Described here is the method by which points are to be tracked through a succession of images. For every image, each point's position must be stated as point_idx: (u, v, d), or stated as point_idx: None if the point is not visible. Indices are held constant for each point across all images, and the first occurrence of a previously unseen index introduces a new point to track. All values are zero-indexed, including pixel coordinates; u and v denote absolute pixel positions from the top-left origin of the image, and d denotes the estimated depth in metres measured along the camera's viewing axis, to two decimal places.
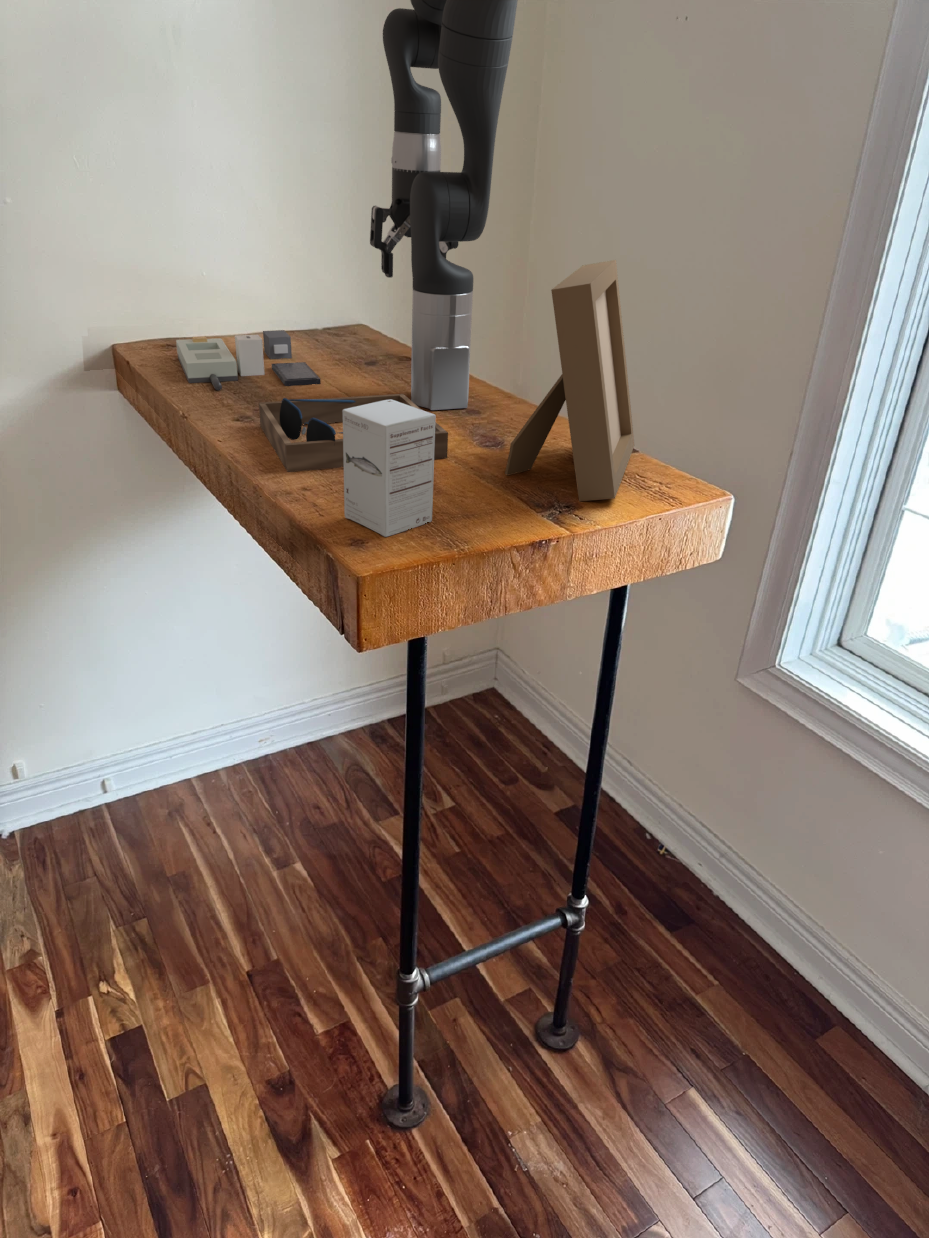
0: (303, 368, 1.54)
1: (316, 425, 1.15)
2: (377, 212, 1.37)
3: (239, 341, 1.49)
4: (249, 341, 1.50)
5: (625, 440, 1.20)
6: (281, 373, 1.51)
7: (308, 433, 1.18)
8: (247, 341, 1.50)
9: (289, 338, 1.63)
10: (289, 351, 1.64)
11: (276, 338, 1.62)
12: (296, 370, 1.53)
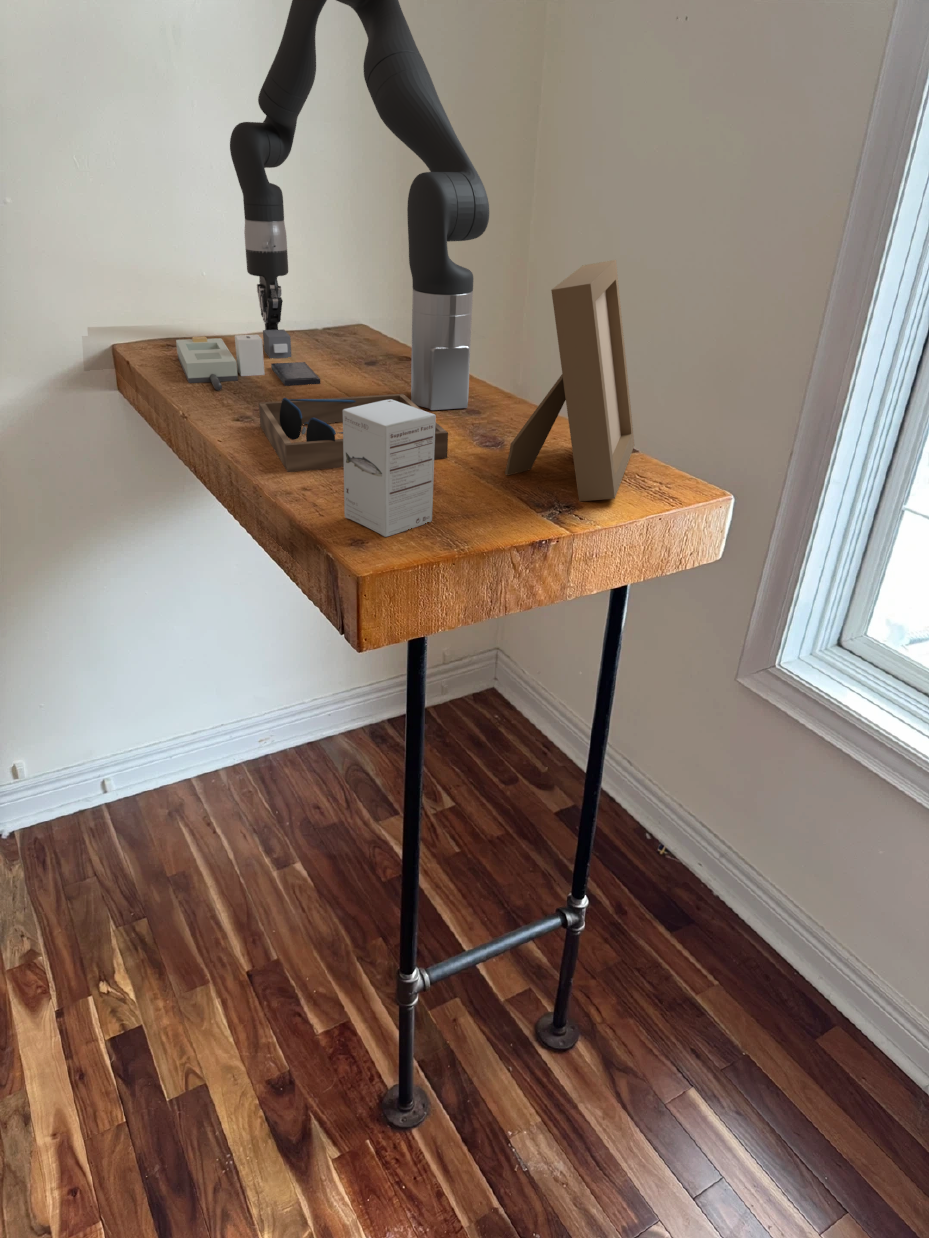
0: (303, 368, 1.55)
1: (316, 425, 1.15)
2: (281, 302, 1.62)
3: (239, 341, 1.49)
4: (249, 341, 1.50)
5: (625, 440, 1.20)
6: (281, 373, 1.51)
7: (308, 433, 1.18)
8: (247, 341, 1.50)
9: (289, 337, 1.63)
10: (289, 350, 1.64)
11: (276, 337, 1.62)
12: (296, 370, 1.53)
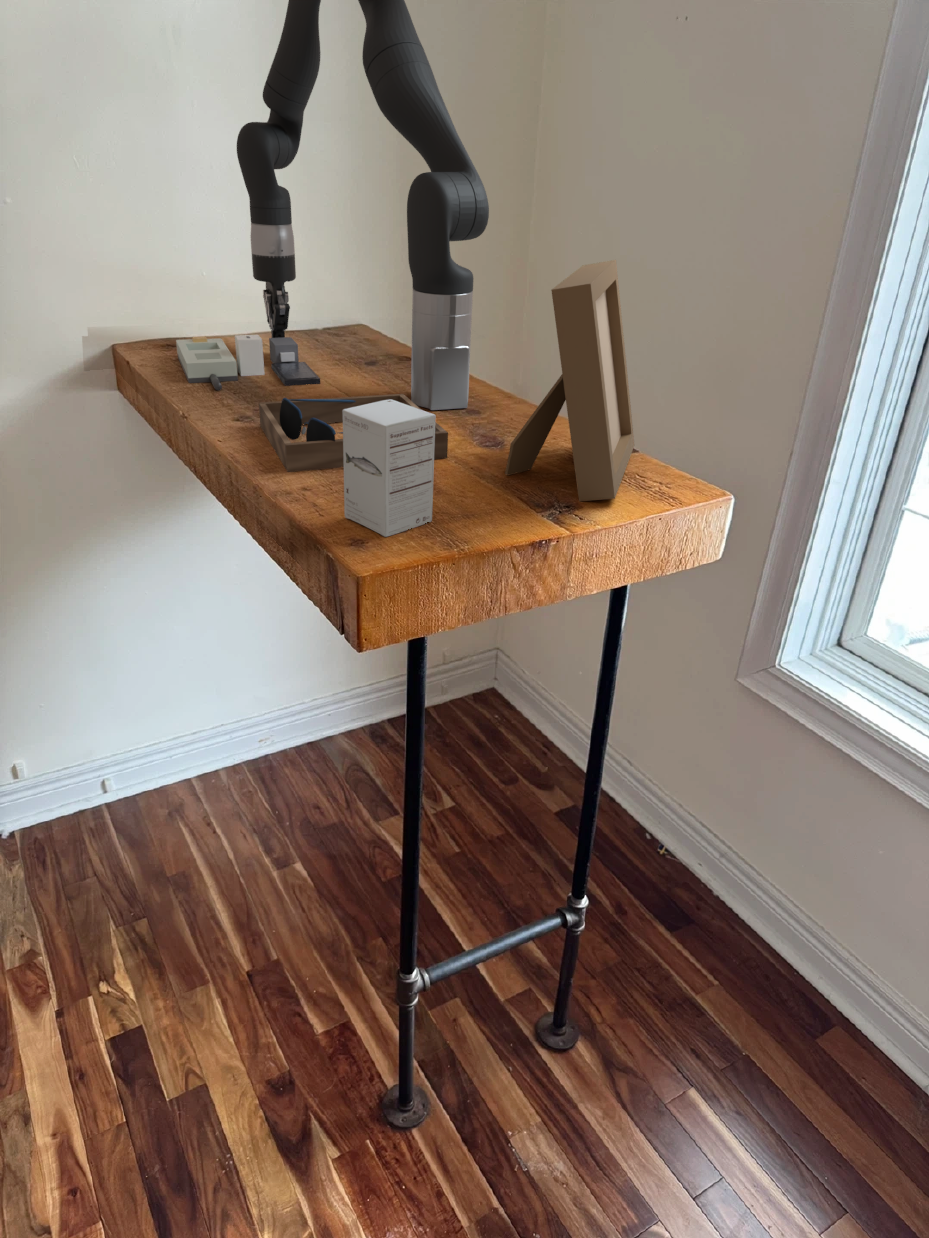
0: (303, 368, 1.55)
1: (316, 425, 1.15)
2: None
3: (239, 341, 1.49)
4: (249, 341, 1.50)
5: (625, 440, 1.20)
6: (281, 373, 1.51)
7: (308, 433, 1.18)
8: (247, 341, 1.50)
9: (296, 346, 1.58)
10: (296, 359, 1.59)
11: (283, 346, 1.57)
12: (296, 370, 1.53)
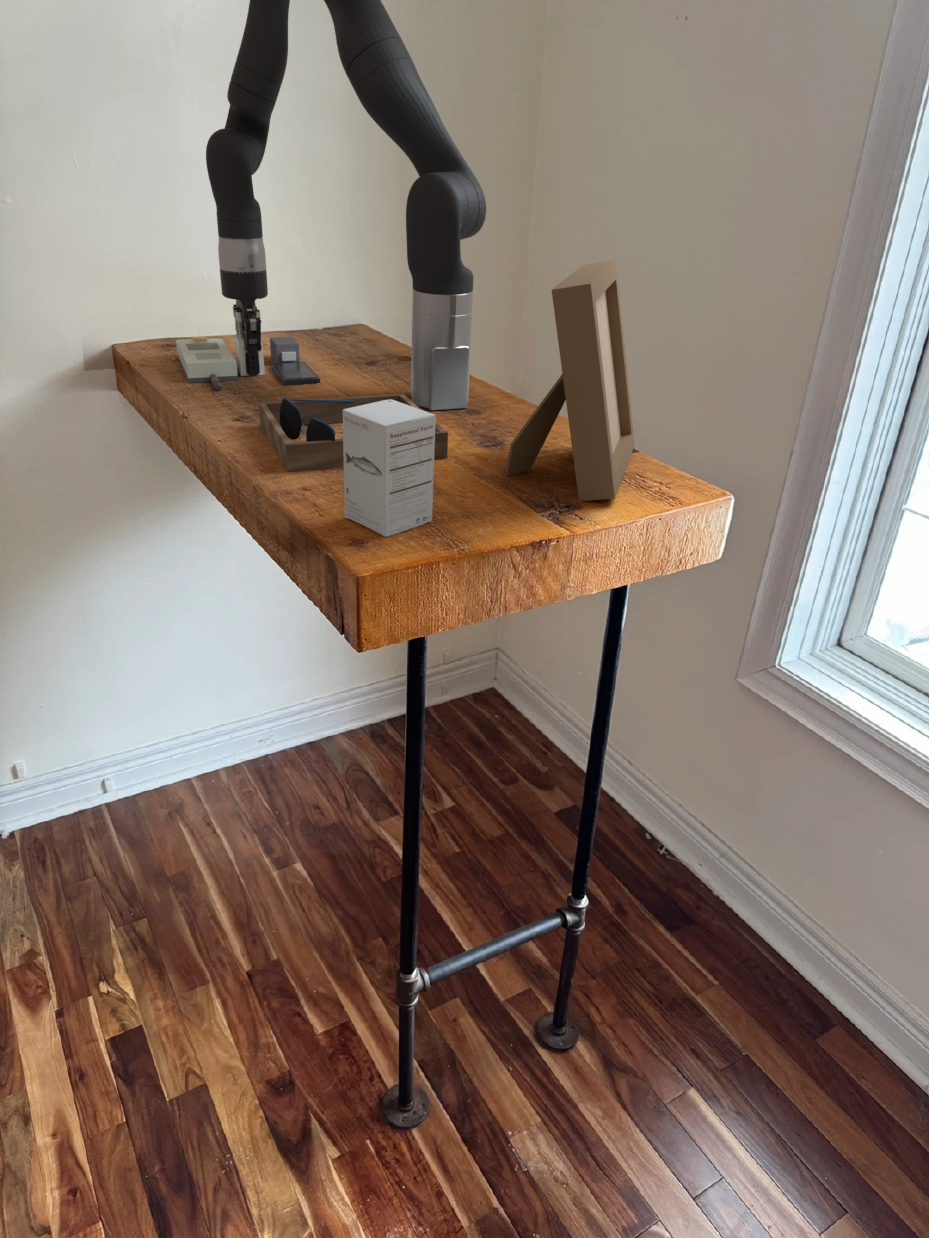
0: (303, 368, 1.55)
1: (316, 425, 1.15)
2: (260, 323, 1.45)
3: (239, 341, 1.49)
4: (249, 341, 1.50)
5: (625, 440, 1.20)
6: (281, 373, 1.51)
7: (308, 433, 1.18)
8: None
9: (297, 345, 1.58)
10: (297, 358, 1.59)
11: (284, 345, 1.57)
12: (296, 370, 1.53)
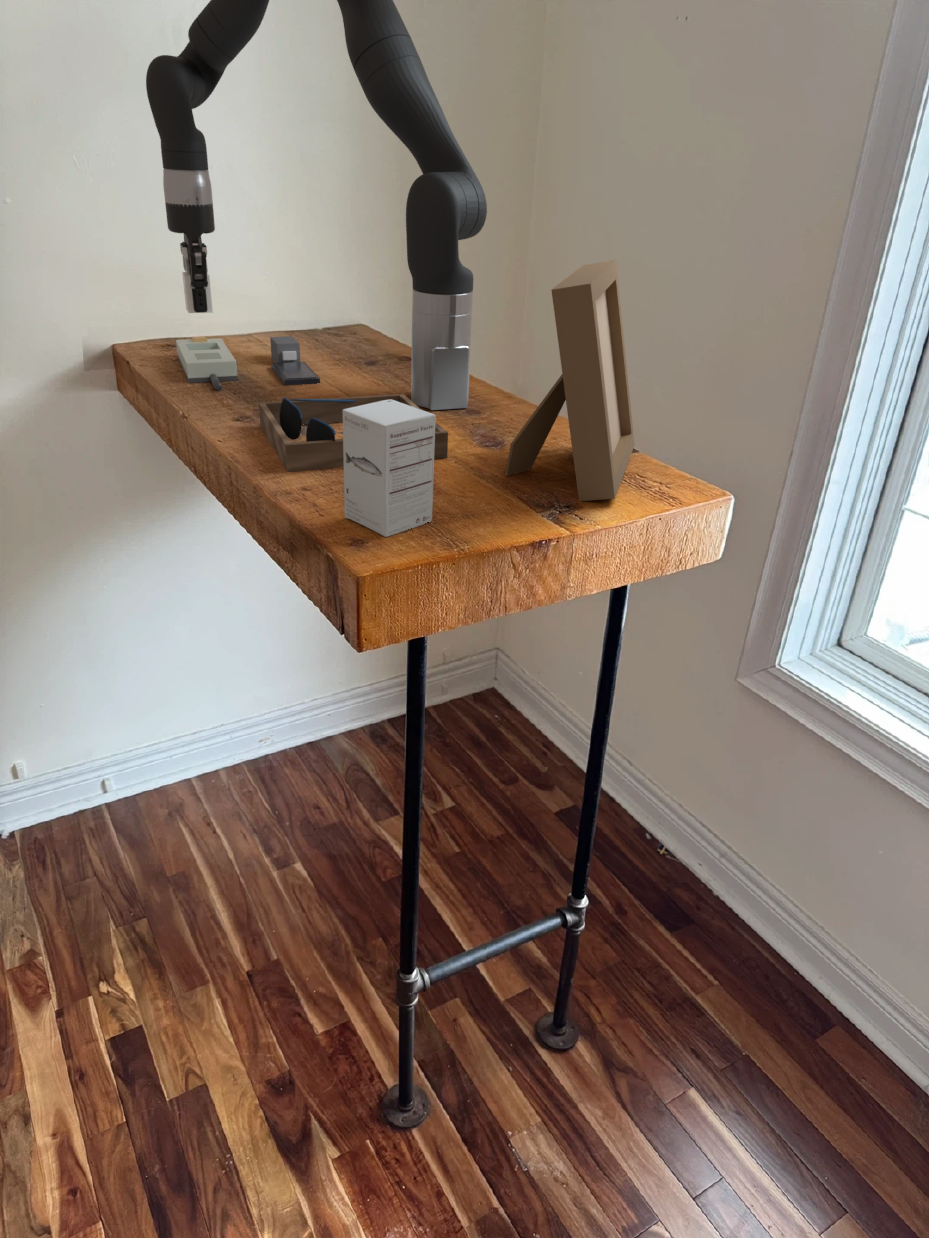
0: (303, 368, 1.55)
1: (316, 425, 1.15)
2: (205, 257, 1.44)
3: (186, 277, 1.48)
4: (196, 277, 1.49)
5: (625, 440, 1.20)
6: (281, 372, 1.51)
7: (308, 433, 1.18)
8: None
9: (298, 344, 1.59)
10: (298, 358, 1.60)
11: (285, 344, 1.58)
12: (296, 370, 1.53)
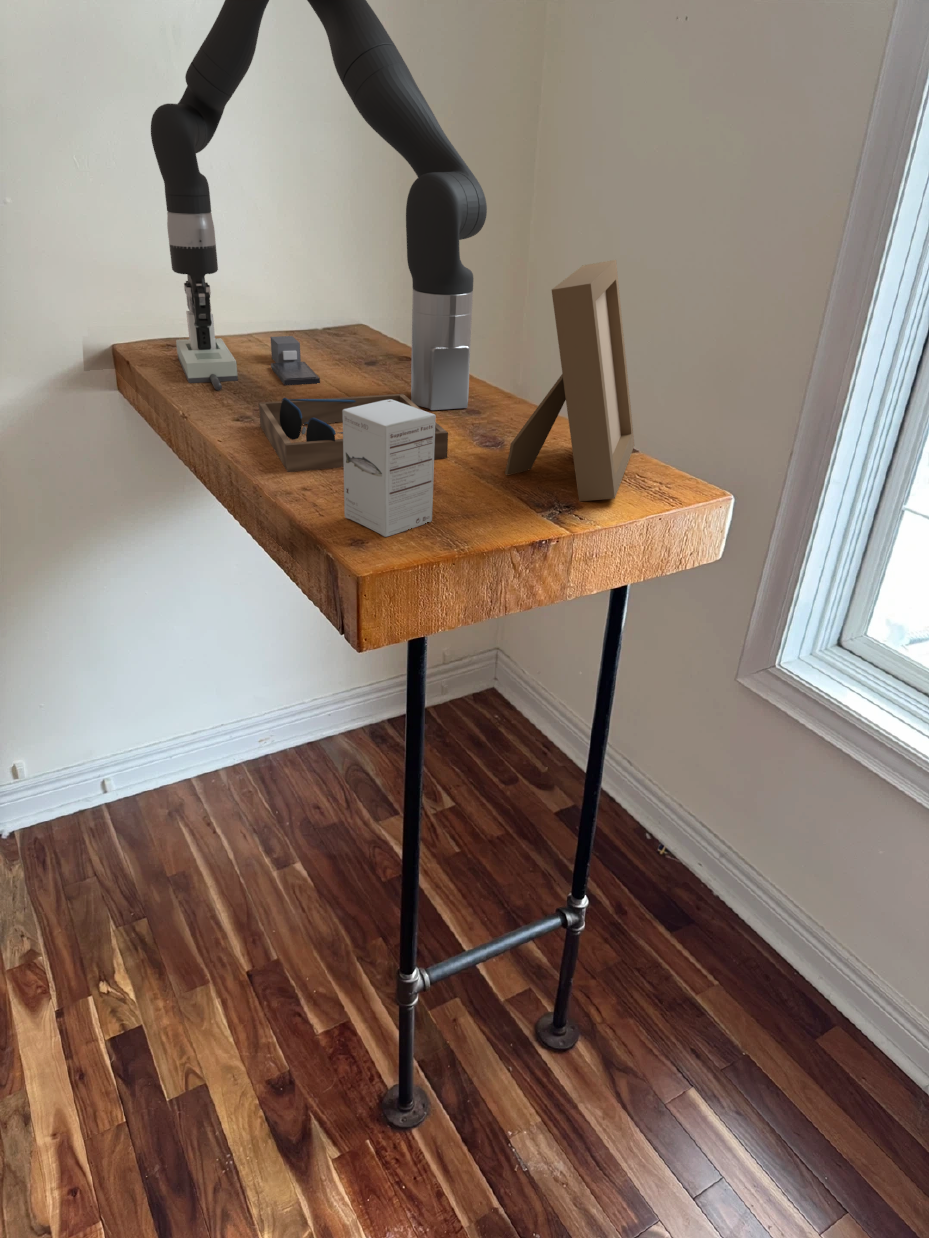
0: (302, 367, 1.55)
1: (316, 425, 1.15)
2: (209, 297, 1.47)
3: (190, 316, 1.51)
4: (200, 316, 1.52)
5: (625, 440, 1.20)
6: (280, 372, 1.51)
7: (308, 433, 1.18)
8: None
9: (298, 344, 1.59)
10: (298, 357, 1.60)
11: (285, 344, 1.58)
12: (295, 369, 1.53)
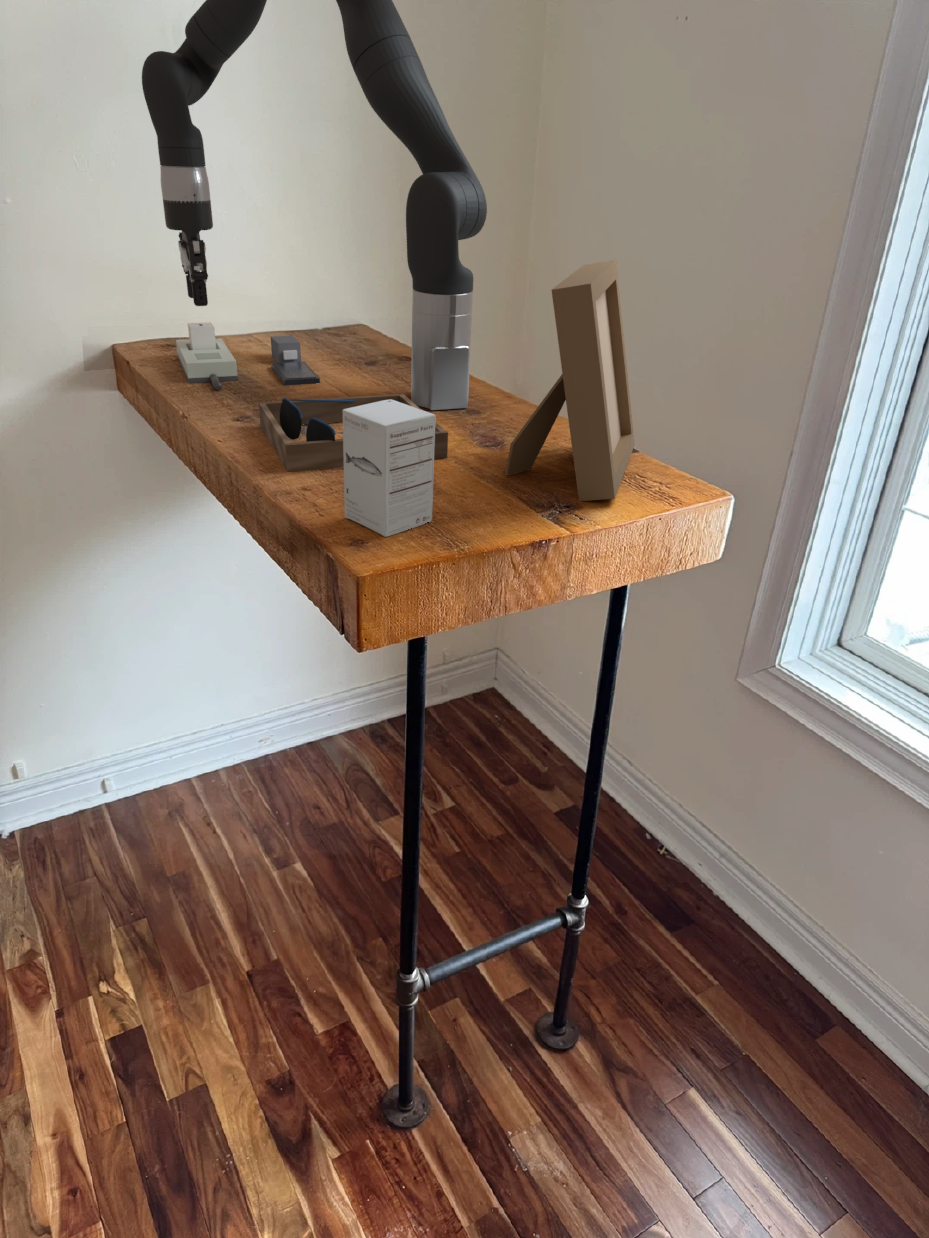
0: (302, 367, 1.55)
1: (316, 425, 1.15)
2: (203, 244, 1.42)
3: (191, 328, 1.52)
4: (201, 328, 1.53)
5: (625, 440, 1.20)
6: (281, 372, 1.52)
7: (308, 433, 1.18)
8: (199, 328, 1.53)
9: (298, 344, 1.59)
10: (298, 357, 1.60)
11: (285, 344, 1.58)
12: (295, 369, 1.53)
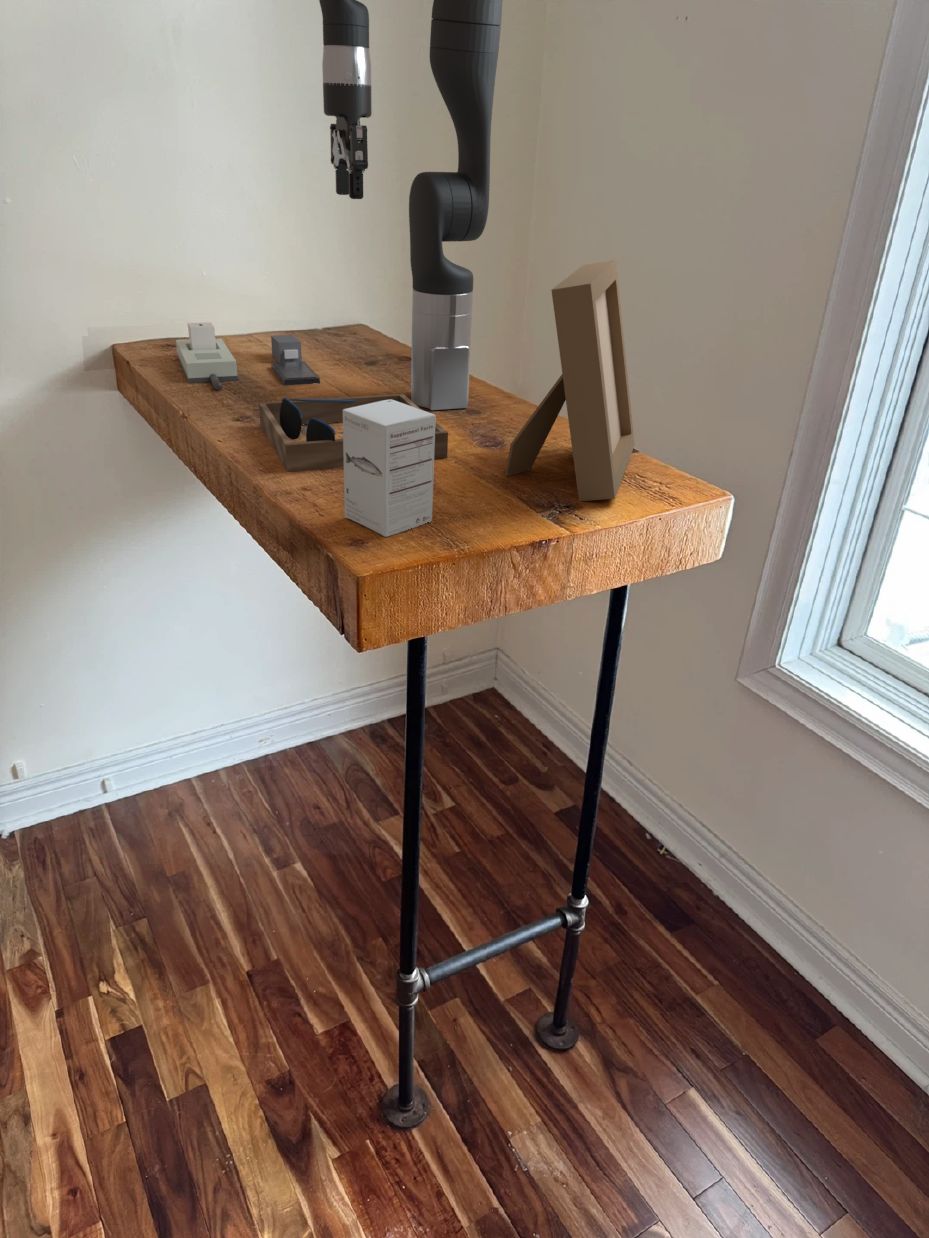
0: (302, 367, 1.55)
1: (316, 425, 1.15)
2: (366, 130, 1.36)
3: (191, 328, 1.52)
4: (201, 328, 1.53)
5: (625, 440, 1.20)
6: (280, 372, 1.52)
7: (308, 433, 1.18)
8: (199, 328, 1.53)
9: (299, 343, 1.60)
10: (299, 356, 1.61)
11: (286, 343, 1.59)
12: (295, 369, 1.53)
